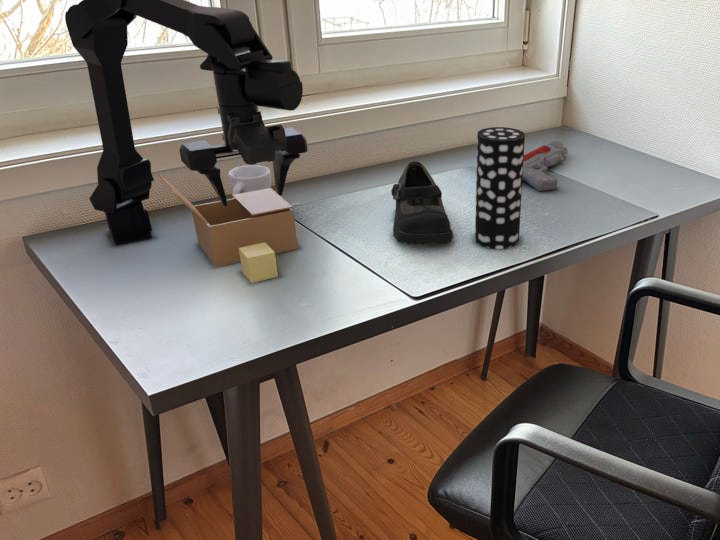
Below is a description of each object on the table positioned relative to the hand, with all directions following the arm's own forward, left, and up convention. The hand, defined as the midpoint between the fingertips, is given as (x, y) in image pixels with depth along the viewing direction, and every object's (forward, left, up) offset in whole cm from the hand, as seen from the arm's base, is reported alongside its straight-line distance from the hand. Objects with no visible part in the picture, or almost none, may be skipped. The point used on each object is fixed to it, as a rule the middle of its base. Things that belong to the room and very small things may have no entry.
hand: (253, 200), depth 120 cm
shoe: (+32, +1, -12) cm, 34 cm away
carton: (+1, +9, -12) cm, 15 cm away
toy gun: (+74, +15, -12) cm, 76 cm away
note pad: (-1, -3, -12) cm, 12 cm away
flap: (-9, +9, -1) cm, 13 cm away
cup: (+7, +25, -12) cm, 28 cm away
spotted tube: (+42, -11, -12) cm, 45 cm away
